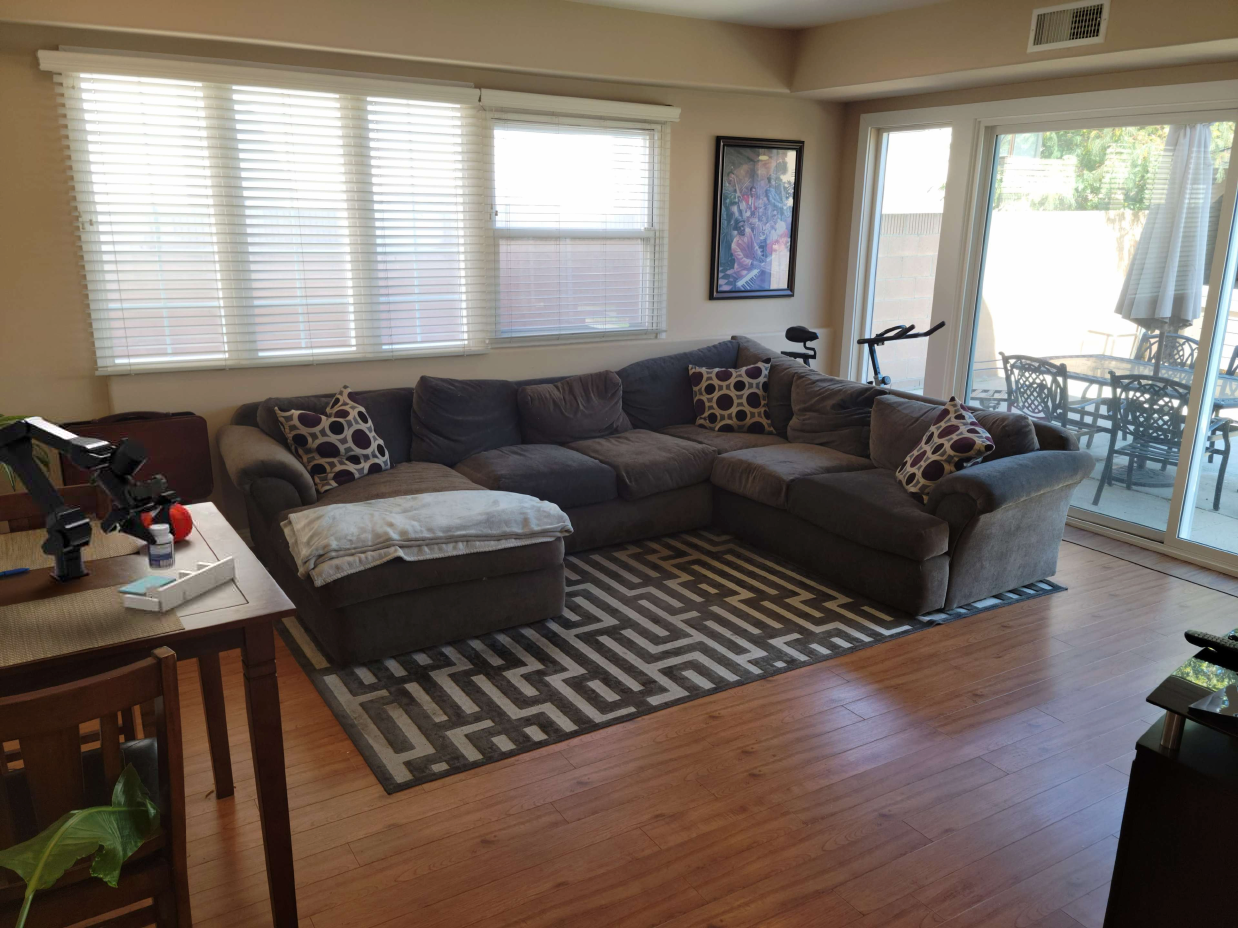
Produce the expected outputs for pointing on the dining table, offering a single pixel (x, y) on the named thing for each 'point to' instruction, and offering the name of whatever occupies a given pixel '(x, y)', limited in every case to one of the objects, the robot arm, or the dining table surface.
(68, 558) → the robot arm
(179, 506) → the tomato
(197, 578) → the lane rack
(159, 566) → the pill bottle
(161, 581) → the teal mat
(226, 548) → the dining table surface
